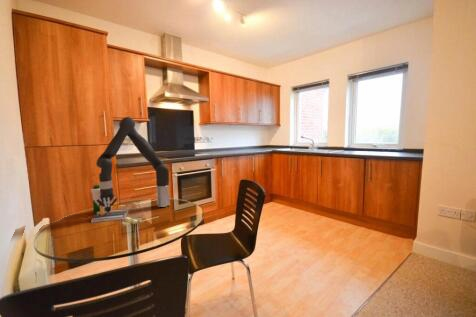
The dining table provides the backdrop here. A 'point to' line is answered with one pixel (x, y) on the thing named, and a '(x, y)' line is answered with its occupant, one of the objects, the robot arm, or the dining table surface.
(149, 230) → the dining table surface
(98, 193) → the milk carton
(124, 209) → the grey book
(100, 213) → the breaker lever
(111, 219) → the panel
